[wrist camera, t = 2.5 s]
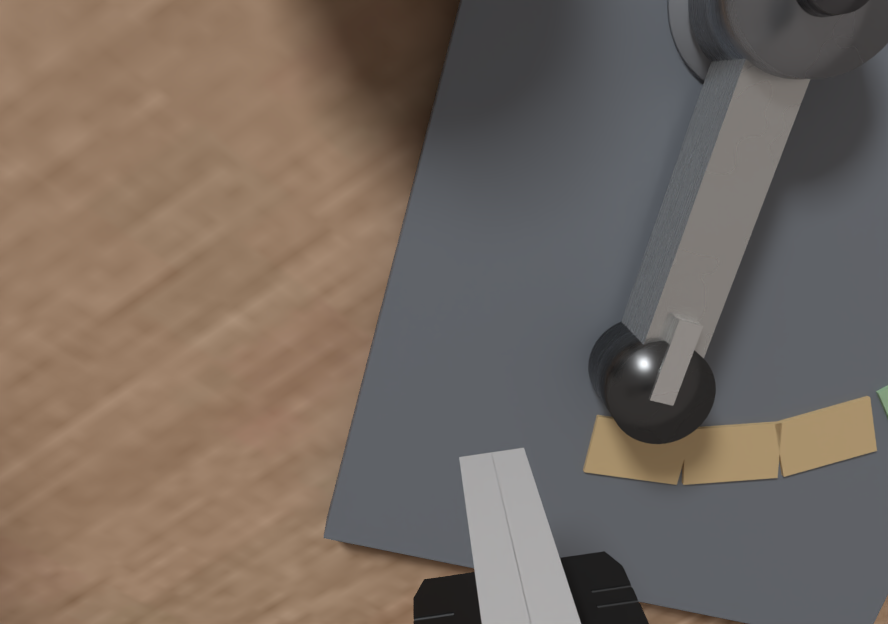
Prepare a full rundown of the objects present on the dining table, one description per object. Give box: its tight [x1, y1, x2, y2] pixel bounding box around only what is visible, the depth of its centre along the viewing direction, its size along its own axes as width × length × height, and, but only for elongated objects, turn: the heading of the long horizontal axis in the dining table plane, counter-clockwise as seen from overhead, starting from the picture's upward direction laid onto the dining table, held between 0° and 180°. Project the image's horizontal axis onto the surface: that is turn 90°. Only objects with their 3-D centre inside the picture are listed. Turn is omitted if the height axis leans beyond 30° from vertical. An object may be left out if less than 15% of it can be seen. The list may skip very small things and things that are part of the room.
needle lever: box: [588, 0, 888, 444], centre depth 20 cm, size 15×4×4 cm, turn 165°
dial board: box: [324, 0, 888, 624], centre depth 24 cm, size 23×25×1 cm
